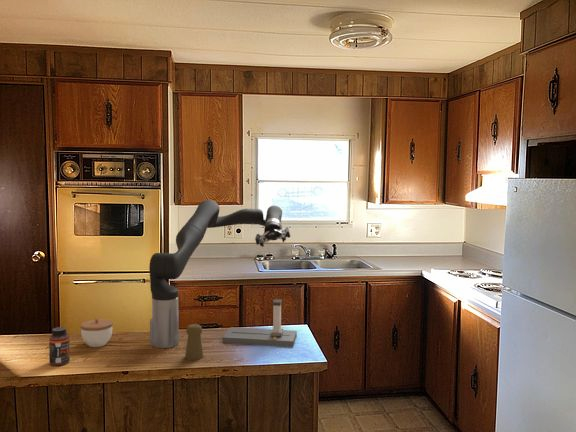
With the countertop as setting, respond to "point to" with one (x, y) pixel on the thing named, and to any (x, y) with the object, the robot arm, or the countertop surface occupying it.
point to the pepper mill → (194, 342)
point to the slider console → (259, 337)
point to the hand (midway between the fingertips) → (272, 242)
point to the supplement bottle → (59, 347)
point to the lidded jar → (96, 332)
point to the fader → (277, 318)
